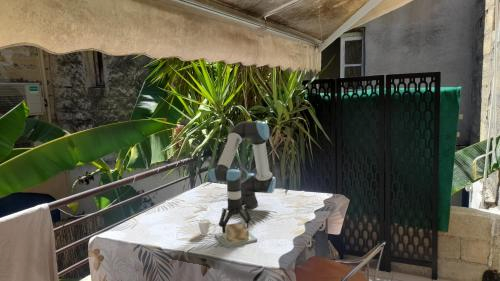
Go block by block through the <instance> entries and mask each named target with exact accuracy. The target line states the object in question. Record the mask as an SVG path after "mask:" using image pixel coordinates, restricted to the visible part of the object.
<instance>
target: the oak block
mask: <svg viewBox="0 0 500 281" xmlns="http://www.w3.org/2000/svg"><path fill="white" fill-rule="evenodd" d="M226 227H227V240H228V241H229V242H235V241H241V240H247V239H249V233H250V232H249V228H246V227H245V226H244V223H242V222H235V223H229V224H228V223H227V225H226ZM222 233H223V232H222ZM223 234H224V233H223Z"/></svg>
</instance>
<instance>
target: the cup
mask: <svg viewBox="0 0 500 281" xmlns="http://www.w3.org/2000/svg"><path fill="white" fill-rule="evenodd" d="M197 223H198V228H199V232H200V235H201V236H208V235H211V234H212V233H214V232H215V230H216V228H217V226H216V224H215V222H214V221H211V220H210V219H209V218H202V219H199V220H198V221H197ZM211 224H213V226H214V229H213V230H212V231H211V232H210V228H211V227H210V226H211Z"/></svg>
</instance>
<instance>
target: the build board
mask: <svg viewBox="0 0 500 281" xmlns="http://www.w3.org/2000/svg"><path fill="white" fill-rule="evenodd" d="M214 237H215V238H216V239H217V240H218V241H219V242H220V243H221V244H222V245H223V246H224V247H225V248H226V249H229V248H233V247H234V248H235V247H237V246H242V245H247V244H252V243H256V242H258V238H257V237H255V236H254V235H253V234H252V233H250V232H249V239H247V240H241V241H235V242H229V241H228V240H227V239H225V238H224V234H223V232H219V233H214Z"/></svg>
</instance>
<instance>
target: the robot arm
mask: <svg viewBox="0 0 500 281" xmlns="http://www.w3.org/2000/svg"><path fill="white" fill-rule="evenodd" d="M269 138H270V128H269V125H268V123H267V122H265V121H260V120H259V121H240V122H238V123H236V125H234V126H233V127H232V128H231V130H230V131H229V133H228V135H227V142H226V143H225V146H224V148H223V151H222V153H221V154H220V158H219V160H218V163H217V166H216V168H211V169H210V170H209V173H208V176H209V180H210V181H211V182H217V183H226V190H227V192H226V194H227V196H226V197H227V208H226V207H222V208H221V209H222V210H221V216H220V218H219V223H218V226H219V227H220V228H221V230H222V231H221V233H224V238H225V239H227V227H226V225H228V223H229V221H230V219H231V217H232V216H235V215H239V216H240V217H241V218H242V220H243V225H244V226H245V227H246V228H247V229H249V223H250V222H251V221H252V219H251V216H250V213H249V209H250V210H252V209H256V208H257V207H258V206H259V203H258V202H259V201H258V198H257V196H256V193H259V194H260V193H261V194H272V193H274V192H275V188H276V183H277V179H276V176H273V173H272V172H271V171H270V165H269V159H268V158H269V157H268V152H267V145H266V143H267V142H268V140H269ZM243 140H249V143H250V145H252V149H253V155H254V162H255V167H256V174H255V173H253V172H250V173H249V172H248V170H247V169H245V168H239V169H237V168H231V169H230V167H231V165H232V162H233V161H234V158H235V155H236V153H237V150H238V148H239V145H240V144H241V143H242V142H243ZM242 210H243V211H244V212H242ZM243 213H244V214H243ZM226 214H227V215H226Z"/></svg>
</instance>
